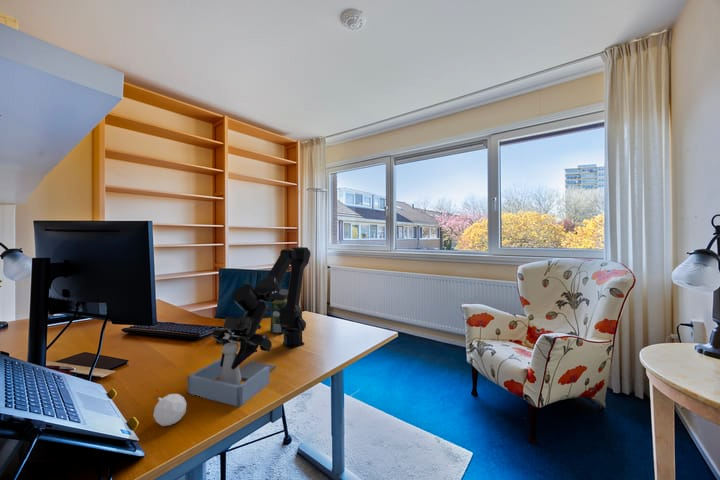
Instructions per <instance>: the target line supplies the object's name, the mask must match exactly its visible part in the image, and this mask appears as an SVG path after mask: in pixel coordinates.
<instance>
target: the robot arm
mask: <svg viewBox="0 0 720 480" xmlns="http://www.w3.org/2000/svg"><path fill="white" fill-rule="evenodd" d="M310 258H311V251H310V249H309V248H308V247H306V246H305V247H303V246H301V247H300V246H292V247H291V248H283V249H281V251H280V252H279V256H278V258H277V260H276V261H275V263H274V264H273V266H272V268H271V269H270V271H269V273H268V274H267V276H266V277H264V278H262V279H261V280H259V282H258V283H257V284H256V285H255V286H254V287H253V286H252V285H251V283H244V284H243V285H242V286H240V287H238V288H237V289H235V290H234V291H233V292H232V295H231V299H232V301H233V302H234V303H235V304H236V305H237V306H238V307H239V308H240V309H241V310H242V311H244V314H243V316H242V315H241V316H238V318H233V317H225V319H224V322H223V326H222V328H219V327H217V328H215V329H214V330H213V331H212V333H211V334H210V336H211V337H212V338H213V339H215V340H216V341H217V342H218V343H220V344H221V345H222V347H223V346H224V345H225V344H227V343H231V342H235V343H240V345H239V349H238V351H237V356H236V358H235V360H234V362H233V364H232V367H231V369H233V370H234V369H235V368H236V367H237V366H238V365H239V366H240V365H241V364H242V363H243V362H245V360H246V359H249V357H250V356H253V354H254V353H258V351H259V350H258V349H260V350H261V351H263V352H270V351H271V348H272V345H273V342H272V341H271V340H270V339H269V337H267V336H266V335H265V334H260V333H257V331H258V330H261V328H262V326H261V323H262V321H263V318H264V317H265V315H266V314H271V309H270V307H269V306H270V305H269V304H267V303H271V302H274V301H275V300H276V298H277V296H278V293H279V291H280V290H281V287H280V285H281V284H280V283H281V281H282V280H283V278H284V276H285V274H286V272H287V271H288V269H289V267H291V268H290V270H291V271H290V277H289V283H288V289H287V290H288V297H287V303H286V305H285V306H284V308H281V310H280V316H279V323H280V326H281V330H285V332H284V333H283V341H282V345H283V346H285V347H287V348H288V349H293V348H297V347H301V346H303V345H305V342H304V341H303V332H304V331H305V330H306V327H307V322H306V321H305V320H304V319H303V311H302V309H301V306H300V300H301V291H302V287H303V286H302V285H303V278H304V270H305V268H306V267H307V266H308V264H309V261H310ZM265 302H266V303H265ZM228 329H229V330H230V331H229V330H228ZM258 347H259V348H258ZM224 356H225V354H223V351H222V354H221V358H220V359H221V364H220V366H221V367H223V362H224Z"/></svg>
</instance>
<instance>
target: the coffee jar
mask: <svg viewBox="0 0 720 480" xmlns="http://www.w3.org/2000/svg"><path fill="white" fill-rule="evenodd" d="M287 297H288V289H283V288H280V291H279V293H278V296H277V298H276V300H275V301H274V302H270V308H271V309H270V328H269V329H270V332H271V333H273V334H285V330H281V326H280V323H279V316H280V310H281V308H284V306H285V305H286V303H287Z"/></svg>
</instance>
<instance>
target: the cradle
mask: <svg viewBox="0 0 720 480" xmlns="http://www.w3.org/2000/svg"><path fill="white" fill-rule="evenodd" d="M220 364H221V358H219V359H217V360H215V361H213V362H211V363H209V364H208V365H206V366H204V367H202V368H201V369H198V370H196V371H195V372H193V373H191V374H189V375H187V394H188V393H190V394H194V395H197V396H196V397H198V396H200V397H199V398H202V397H203V399H206V398H207V399H206V400H212V401H215V402H220V403H223V404H227V405H230V406H235V407H240V408H241V406H243V405H244V404H245V403H246V402H248V401H249V400H251V398H253V397H254V396H256V394H258V393H259V392H260V391H262V390H263V389H264V388H266V386H268V385H269V384H270V372H269V367H268V366H266V367H265V368H263V369H262V370H261V371H259V372H258V373H256V374H255V375H253V376H252V377H251V378H249V379H248V380H244V381H243V382H242V383H241V384H239V385H235V384H230V383H226V382H221V381H220V380H217V379H218V378H220V377H221V372H222V367H221V366H220ZM190 394H189V395H190ZM194 395H193V396H194Z"/></svg>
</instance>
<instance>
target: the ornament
mask: <svg viewBox="0 0 720 480" xmlns="http://www.w3.org/2000/svg"><path fill="white" fill-rule="evenodd" d="M157 400H158V401H157V403H156V405H155V406H154V411H153V415H152V416H153V419H154V420H155V423H157V424H159V425H160V426H161V427H166V426H173V425H174V424H176V423H177V422H179V421H181V419H182V418H183V417H184V415H185V414H186V413H187V412H186V411H187V404H188V403H187V401H186V399H185V397H184V396H183V395H181V394H180V393H169V394H167V395H165V396H164V397H163V398H162V397H158V398H157ZM172 424H173V425H172Z"/></svg>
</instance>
